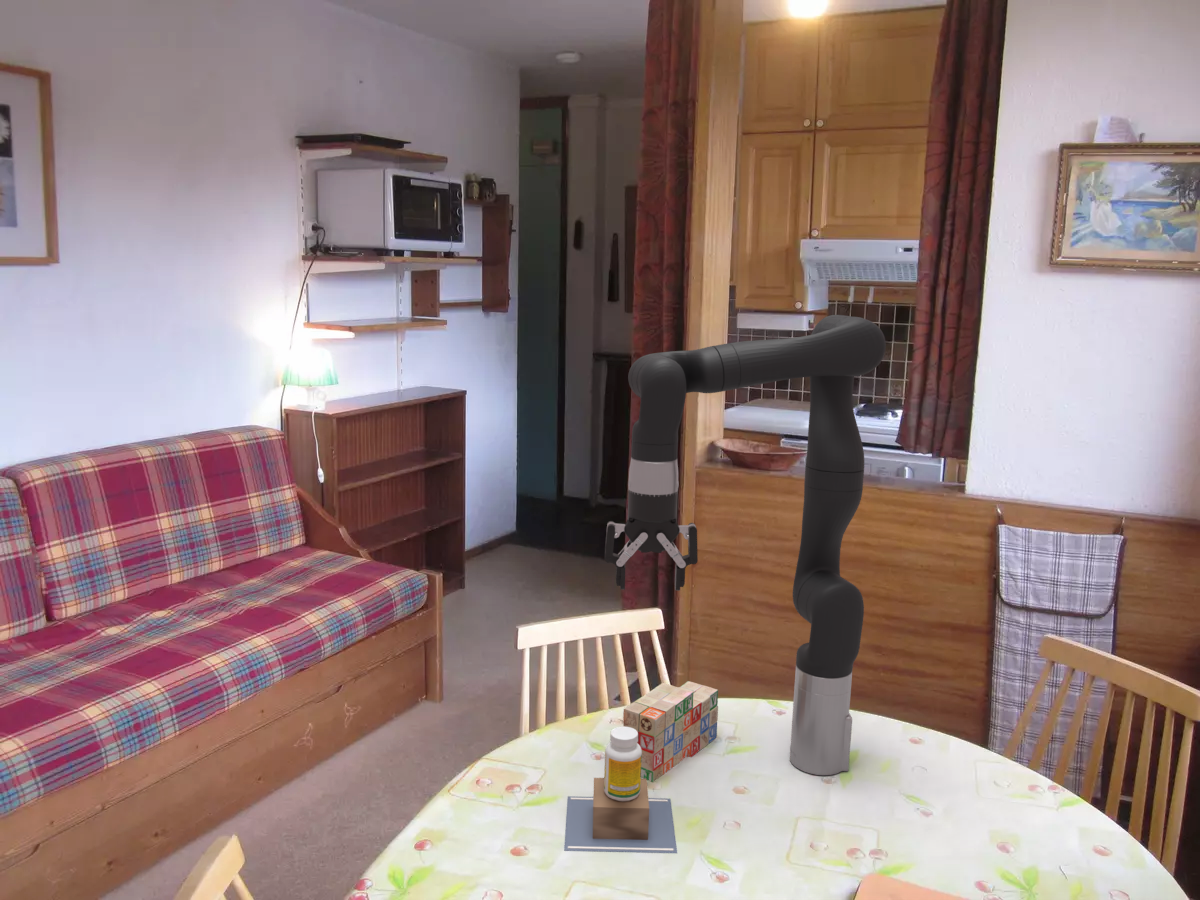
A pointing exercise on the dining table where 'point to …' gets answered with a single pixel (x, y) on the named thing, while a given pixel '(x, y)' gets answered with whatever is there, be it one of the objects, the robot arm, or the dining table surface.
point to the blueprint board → (582, 839)
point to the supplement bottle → (623, 765)
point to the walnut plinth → (620, 814)
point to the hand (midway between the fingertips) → (649, 588)
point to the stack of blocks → (672, 724)
